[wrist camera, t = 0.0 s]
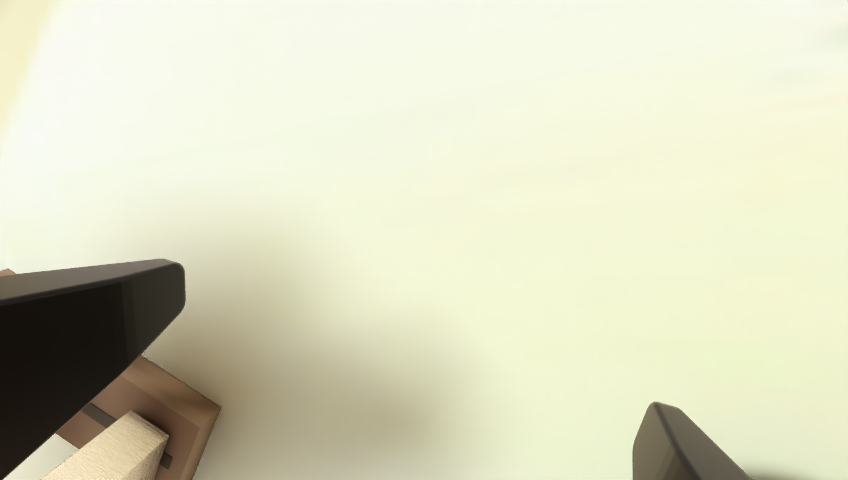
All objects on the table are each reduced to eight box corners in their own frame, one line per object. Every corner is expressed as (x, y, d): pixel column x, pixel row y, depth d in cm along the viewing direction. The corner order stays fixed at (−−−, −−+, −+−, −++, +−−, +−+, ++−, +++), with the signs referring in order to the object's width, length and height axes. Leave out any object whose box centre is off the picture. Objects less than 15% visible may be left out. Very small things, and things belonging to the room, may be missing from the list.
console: (220, 407, 32) (163, 462, 27) (188, 487, 36) (133, 547, 31) (7, 268, 33) (-81, 299, 29) (-3, 359, 37) (-82, 399, 33)
